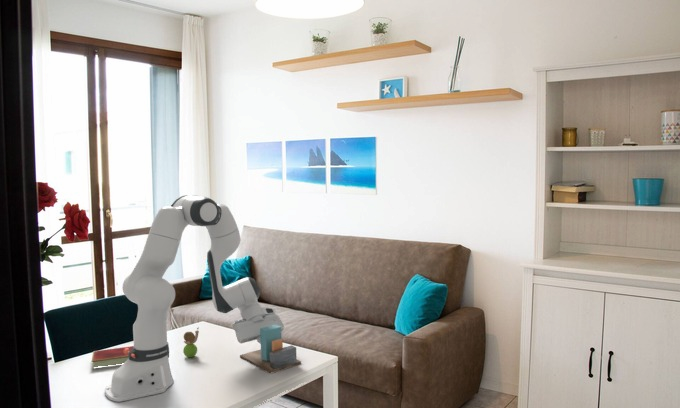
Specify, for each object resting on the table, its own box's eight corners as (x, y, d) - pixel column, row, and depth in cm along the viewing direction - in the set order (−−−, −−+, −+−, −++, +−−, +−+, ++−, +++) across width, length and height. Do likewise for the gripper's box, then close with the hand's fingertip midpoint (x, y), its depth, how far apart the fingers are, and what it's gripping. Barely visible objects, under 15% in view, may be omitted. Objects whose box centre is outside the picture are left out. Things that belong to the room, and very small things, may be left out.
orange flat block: (274, 362, 202) (273, 342, 201) (272, 361, 203) (271, 341, 202) (293, 357, 207) (292, 336, 207) (291, 356, 208) (290, 335, 208)
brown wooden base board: (269, 373, 195) (269, 370, 195) (240, 357, 212) (239, 354, 212) (300, 363, 204) (300, 360, 204) (269, 349, 221) (269, 346, 221)
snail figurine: (197, 359, 211) (196, 329, 210) (181, 359, 211) (180, 329, 210) (201, 354, 216) (200, 325, 215) (186, 354, 216) (184, 325, 215)
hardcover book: (93, 360, 213) (93, 350, 212) (149, 352, 220) (149, 342, 220) (92, 371, 202) (91, 360, 201) (150, 362, 209) (150, 352, 209)
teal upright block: (268, 362, 202) (267, 331, 201) (261, 358, 206) (260, 328, 205) (284, 357, 206) (283, 327, 205) (276, 354, 211) (275, 324, 210)
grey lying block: (274, 369, 196) (274, 353, 196) (270, 367, 198) (269, 351, 198) (296, 362, 203) (296, 347, 202) (292, 360, 205) (291, 345, 204)
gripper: (233, 317, 207) (247, 348, 200) (277, 307, 220) (291, 336, 213) (228, 326, 210) (241, 357, 204) (271, 316, 223) (285, 344, 217)
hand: (267, 346), depth 208 cm, fingers closed, pressing on teal upright block
